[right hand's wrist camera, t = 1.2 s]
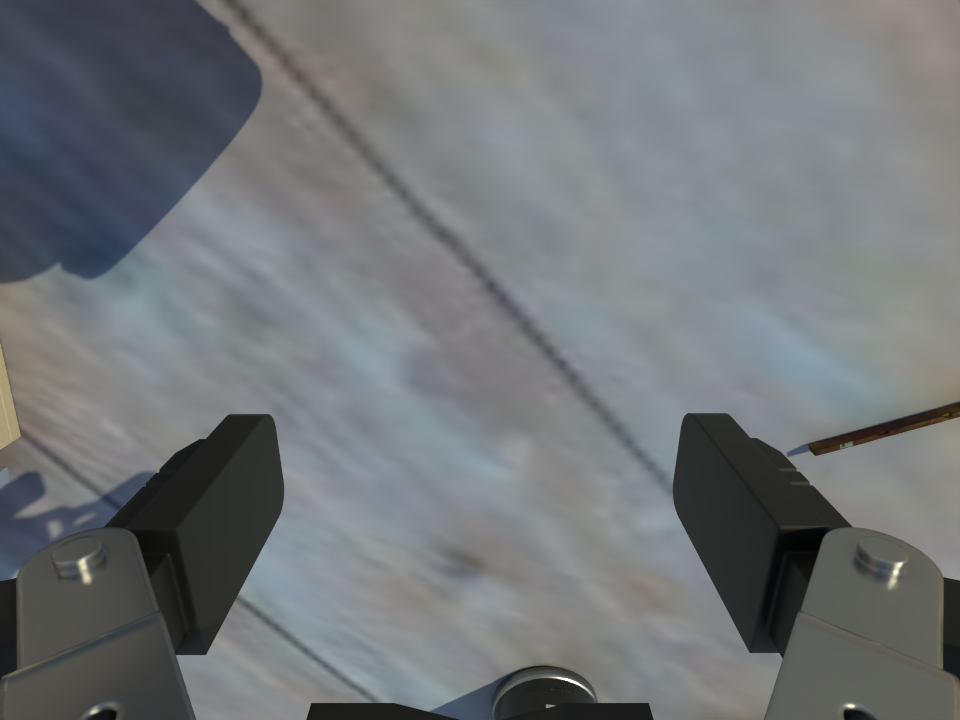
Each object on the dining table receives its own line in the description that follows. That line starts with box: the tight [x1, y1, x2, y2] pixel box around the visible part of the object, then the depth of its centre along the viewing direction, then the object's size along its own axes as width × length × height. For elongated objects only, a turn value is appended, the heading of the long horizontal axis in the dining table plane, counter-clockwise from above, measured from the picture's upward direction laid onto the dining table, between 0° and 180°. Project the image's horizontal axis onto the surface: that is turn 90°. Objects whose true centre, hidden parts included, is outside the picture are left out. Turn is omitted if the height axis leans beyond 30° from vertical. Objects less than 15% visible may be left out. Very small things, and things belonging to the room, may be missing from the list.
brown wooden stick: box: [809, 403, 960, 456], centre depth 40 cm, size 15×1×1 cm, turn 109°
